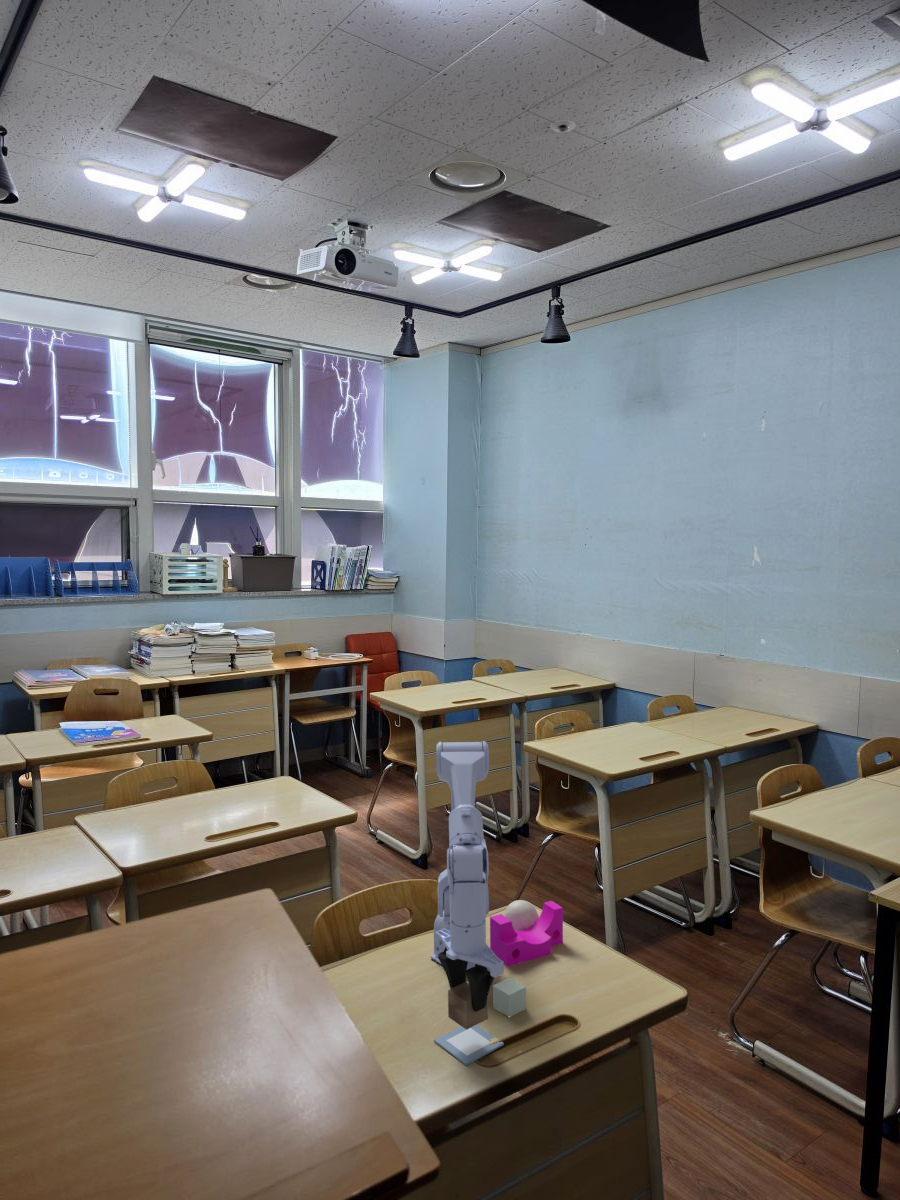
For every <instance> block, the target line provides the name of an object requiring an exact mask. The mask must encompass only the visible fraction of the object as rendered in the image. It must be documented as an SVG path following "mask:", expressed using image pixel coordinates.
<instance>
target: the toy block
mask: <svg viewBox="0 0 900 1200" xmlns="http://www.w3.org/2000/svg"><path fill="white" fill-rule="evenodd" d="M563 912H564V908H563V907H562V906H561V905H559V904H558V903H556V902H554V901H553V900H549V901H545V902H543V906H542V910H541V913H540V915H539V918H538V920H537V921H536V922H535V923H534V924H533V925H532V926H531V927H529V928H528V929H526V930H523V931H514V929H513V926H512V921H510V920H509V919H508V918H506V917H505V914H502V913H500V914H495V915H492V916H490V917H489V948H490V949H491V950H492V951H493V953H494V954H495V955H496V956H497V957H498V958H499V959H500V960H502V961H503V962H504V966H506V967H507V968H508V967H512V966H516V965H518V964H522V963H525V962H529V961H531V960H532V961H533V960H535V959H538V958H542V957H545V956H549V955H551V954H552V947H553V946H557V945H560V944H563V943H564V935H563V934H564V933H563V932H564V925H563V924H564V918H563V917H564V915H563V914H564V913H563Z"/></svg>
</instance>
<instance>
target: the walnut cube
mask: <svg viewBox="0 0 900 1200" xmlns="http://www.w3.org/2000/svg"><path fill="white" fill-rule="evenodd" d="M488 998H489V997H487V1001H486V1005H485V1008H483V1009H481V1010H479V1011H477V1012H475V1011H474V1010H473V1008H472V1002H471V990H470V985H469V982H468V980H466V982H464V983H462V984H460V985H458V986H456V987H454V988H451V989H450V988H449V989H448V990H447V1006H448V1007H447V1009H448V1011H447V1013H448V1015H447V1016H448V1018H449V1019H450V1020H452V1021H453V1022H455V1023H456V1024H457V1025H459V1026H462V1027H463V1028H465V1029H466V1030H467V1029H469V1028H471V1027H473V1026H475V1025H479V1024H480V1023H482V1022H484V1021H486V1020H488V1018H489V1013H488V1012H489V1011H488V1009H489V1008H488V1004H489V1002H488Z"/></svg>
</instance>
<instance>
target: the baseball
mask: <svg viewBox="0 0 900 1200" xmlns="http://www.w3.org/2000/svg"><path fill="white" fill-rule="evenodd" d="M504 916H505V917H506V918H508V919H509V920H510V921H512V926H513V929H514V931H523V930H526V929H528V928H529V927H531V926H532V925H533V924H534V923H535V922H536V921H537V920H538V918H539V917H540V915H539V914H538V912H537V910H536V907H535V906H534V905H533V904H532V903H531V902H529V901H528V900H524V899H523V900H522V899H518V900H514V901H512V902H511V903H510V904H509V903H508V906H507V907H506V909H505V912H504Z"/></svg>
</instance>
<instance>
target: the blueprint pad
mask: <svg viewBox="0 0 900 1200" xmlns="http://www.w3.org/2000/svg"><path fill="white" fill-rule="evenodd" d="M493 1036H494V1035H492V1034H491V1033H490V1032H488V1031H487V1030H485V1029H483V1028H482V1027H481V1026H479V1024H477V1025H475V1026H473V1027H471V1028H469V1029H467V1030H466V1029H465V1028H463V1027H462V1026H461V1025H459V1027H456V1028H455V1029H453V1030H450V1031H449V1032H447V1033H445V1034H442V1035H441V1036H439V1037H436V1038H435V1039H433V1042H434V1043H435V1044H436V1045H438V1046H439V1047H440V1048H442V1049H443V1050H444V1051H446V1052H448V1053H449V1054H450V1055H452V1056H453V1057H454V1058H456V1060H458V1061H459V1062H461V1063H462V1064H463V1065H464V1066H469V1065H470V1064H472V1063H474V1062H475V1061H477V1060H479V1059H481V1058H483V1057H485V1056H486V1055H488V1054H490V1053H492V1052H494V1051H495V1050H498V1049H500V1048H501V1047H503V1046H505V1043H504V1041H501V1042H497V1043H495V1044H492V1045H490V1044H489V1041H491V1040H490V1039H492V1038H496V1037H495V1036H494V1037H493ZM486 1044H489V1045H486Z"/></svg>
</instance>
